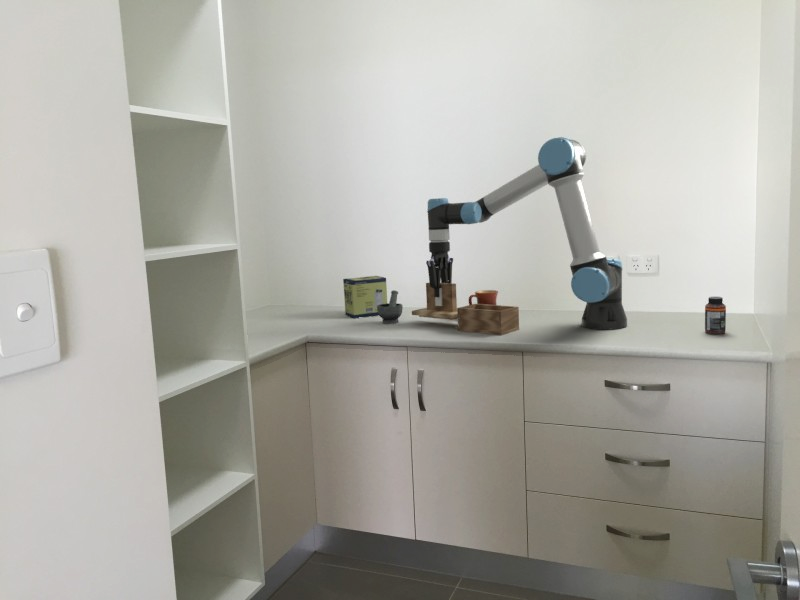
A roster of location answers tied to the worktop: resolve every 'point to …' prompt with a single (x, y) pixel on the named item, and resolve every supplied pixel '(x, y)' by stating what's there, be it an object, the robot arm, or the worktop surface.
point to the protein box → (364, 295)
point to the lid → (448, 303)
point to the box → (488, 319)
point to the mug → (485, 297)
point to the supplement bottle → (715, 316)
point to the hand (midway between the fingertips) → (441, 305)
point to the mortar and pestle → (390, 310)
